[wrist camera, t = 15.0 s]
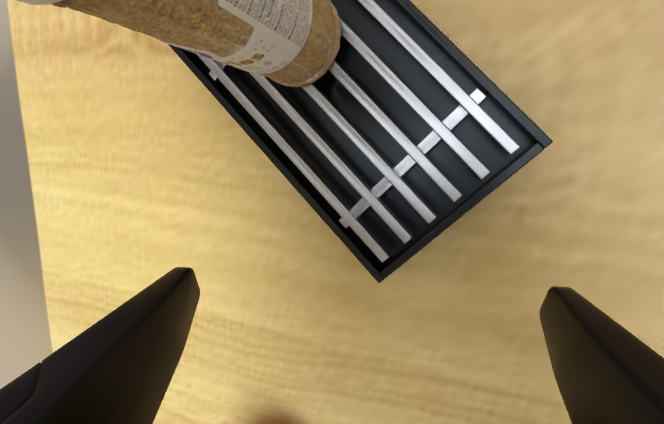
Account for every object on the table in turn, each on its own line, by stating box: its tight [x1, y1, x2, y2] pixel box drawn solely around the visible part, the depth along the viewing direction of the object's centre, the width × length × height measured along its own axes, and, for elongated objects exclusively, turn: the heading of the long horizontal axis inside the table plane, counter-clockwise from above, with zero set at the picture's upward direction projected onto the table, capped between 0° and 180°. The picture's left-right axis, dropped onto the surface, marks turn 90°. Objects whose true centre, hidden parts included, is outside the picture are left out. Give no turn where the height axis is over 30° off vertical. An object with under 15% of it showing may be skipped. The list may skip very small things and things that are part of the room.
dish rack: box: [168, 0, 553, 283], centre depth 16 cm, size 10×18×8 cm, turn 44°
